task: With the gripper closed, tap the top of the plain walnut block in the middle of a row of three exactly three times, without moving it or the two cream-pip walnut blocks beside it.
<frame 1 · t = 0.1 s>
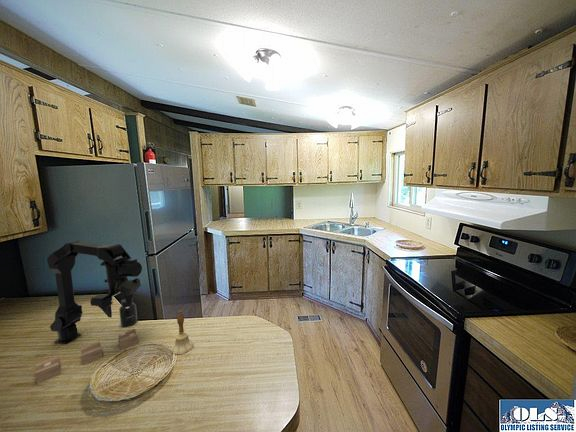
hand: (120, 311, 101), 15 cm above the worktop, fingers open, 9 cm apart
plain walnut block: (92, 357, 95), on the worktop
hand bell: (182, 348, 99), on the worktop
two-pip walnut block: (128, 343, 103), on the worktop
supplement bottle: (129, 323, 119), on the worktop
one-pip walnut block: (49, 374, 87), on the worktop
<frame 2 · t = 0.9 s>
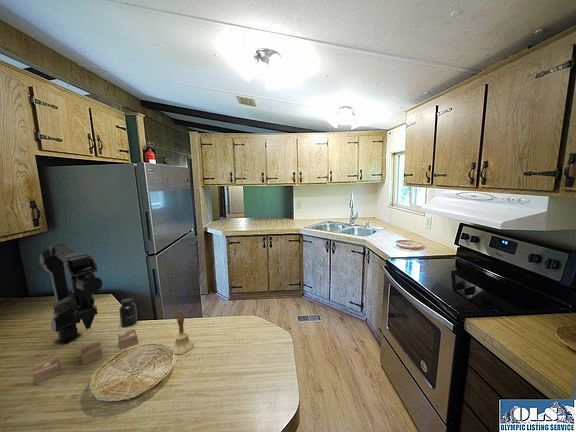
hand: (87, 326, 94), 13 cm above the worktop, fingers open, 5 cm apart
nothing on the worktop moved.
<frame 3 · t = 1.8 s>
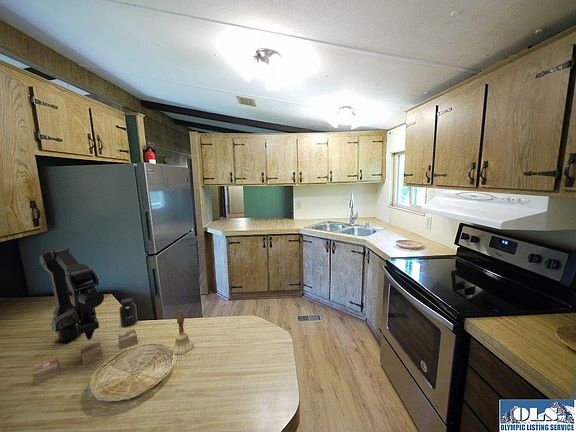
hand: (89, 338, 94), 8 cm above the worktop, fingers closed
nothing on the worktop moved.
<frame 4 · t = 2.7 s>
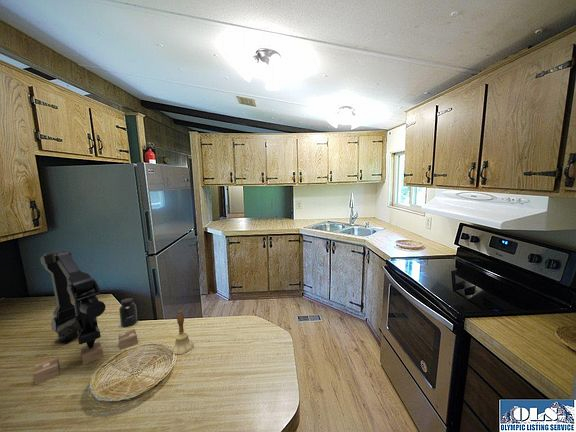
hand: (90, 347, 95), 4 cm above the worktop, fingers closed
nothing on the worktop moved.
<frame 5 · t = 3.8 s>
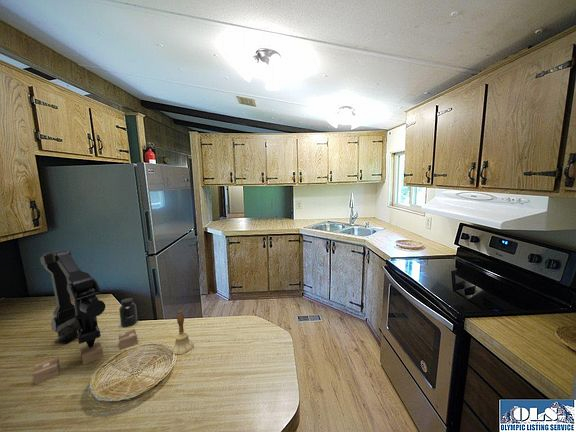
hand: (90, 347, 95), 4 cm above the worktop, fingers closed
nothing on the worktop moved.
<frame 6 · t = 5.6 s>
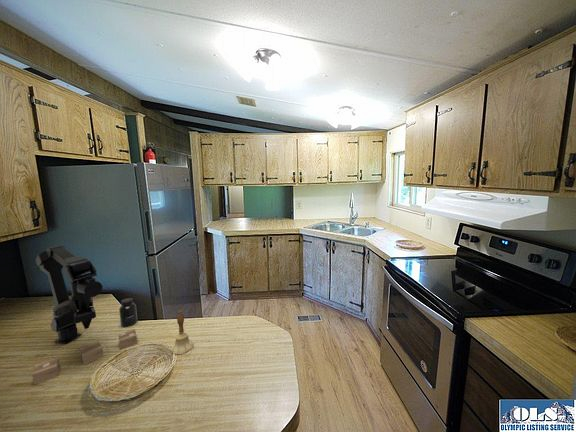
hand: (86, 328, 97), 10 cm above the worktop, fingers closed
nothing on the worktop moved.
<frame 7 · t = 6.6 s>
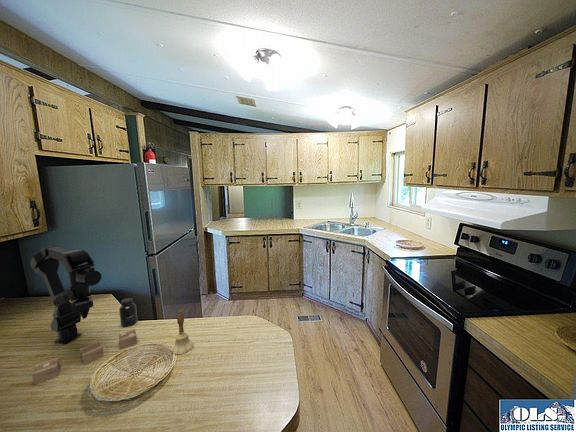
hand: (84, 318, 100), 13 cm above the worktop, fingers closed
nothing on the worktop moved.
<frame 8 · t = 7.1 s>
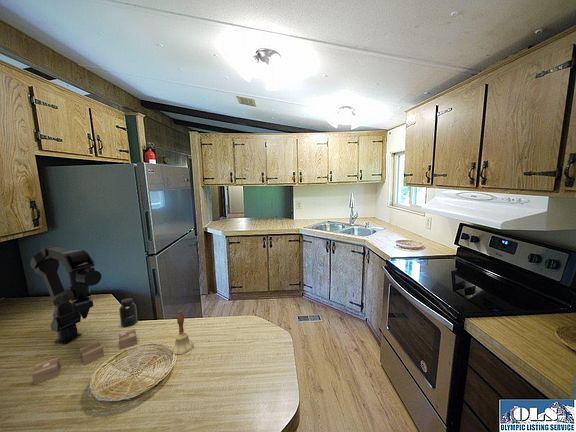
hand: (84, 318, 100), 13 cm above the worktop, fingers closed
nothing on the worktop moved.
at the end: plain walnut block moved 0.2 cm from its start; plain walnut block tilted 0°; two-pip walnut block moved 0.2 cm from its start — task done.
